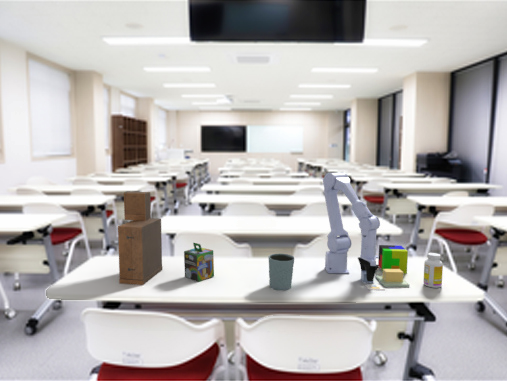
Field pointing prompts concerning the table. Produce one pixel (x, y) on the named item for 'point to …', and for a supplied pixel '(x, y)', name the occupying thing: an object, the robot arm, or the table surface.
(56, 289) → the table surface
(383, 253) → the puzzle toy
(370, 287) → the page
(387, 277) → the ochre brick
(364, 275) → the blue cube
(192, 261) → the multicoloured upright box
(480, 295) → the table surface
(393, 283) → the baseplate
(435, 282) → the supplement bottle
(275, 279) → the green cup
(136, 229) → the brown stacked boxes
